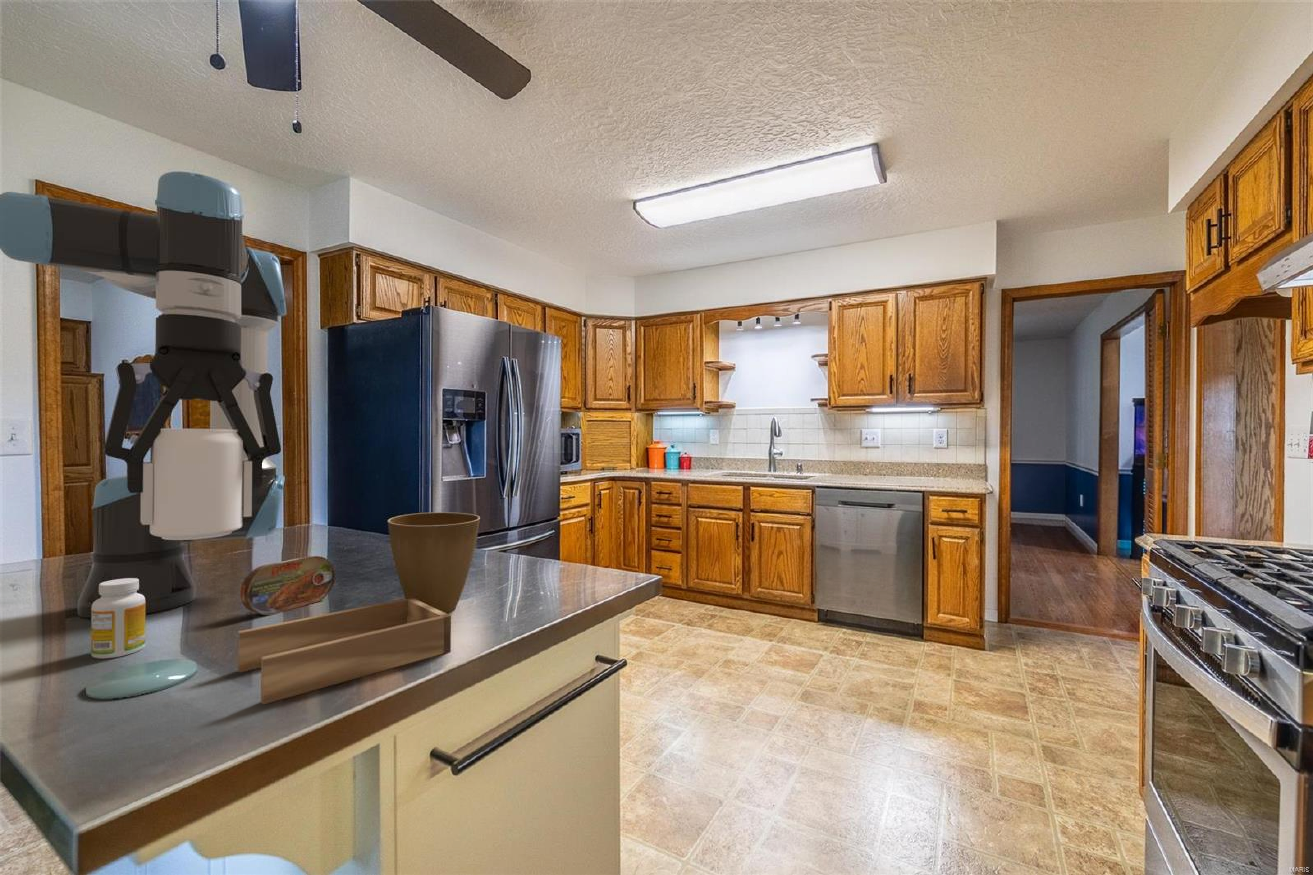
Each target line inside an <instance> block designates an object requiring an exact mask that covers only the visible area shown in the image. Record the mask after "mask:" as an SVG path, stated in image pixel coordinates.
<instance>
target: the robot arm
mask: <svg viewBox="0 0 1313 875" xmlns="http://www.w3.org/2000/svg"><path fill="white" fill-rule="evenodd" d="M242 200H243V199H242V196H241V194H240V192H239V191H238V190H237V189H236V188H235V187H233V186H232V185H230V184H229V183H226V182H225V181H223V180H220V179H218V178H215V177H211V176H209V175H204V174H200V173H195V172H189V171H169V172H165V173H164V174H162V175H161V176H159V178H158V182H157V193H156V199H155V200H154V205H155V206H156V214H151V213H146V212H145V213H144V212H138V211H132V210H127V209H126V210H125V209H124V210H123V209H117V208H112V207H107V206H102V205H96V204H95V205H94V204H91V203H89V204H88V203H83V202H80V201H79V202H77V201H72V200H66V199H61V198H55V197H49V196H46V195H45V194H32V193H31V194H30V193H24V192H18V191H17V192H15V191H4V192H2V193H0V251H2V253H3V254H4V255H5V256H6V257H7V258H9V259H11V260H14V261H20V262H26V263H30V264H31V263H32V264H38V265H40V266H43V267H45V266H50V267H58V268H59V267H60V268H68V269H69V268H70V269H72V270H77V271H80V272H85V273H89V274H91V275H95V276H99V277H102V278H105V279H106V280H107V281H108V282H109V283H111V284H112V285H113V286H116V287H118V288H119V289H122V290H124V291H128V292H132V293H134V294H138V295H141V296H144V297H147V298H151V299H153V300H155V308H156V310H158V311H159V312H160V313H161V314H160V315H158V317H155V343H154V344H155V350H154V356H153V358H151V360H150V361H149V362H143V363H142V362H141V363H129V362H120V363H119V364H118V365H117V366H116V368H115V371H116V375H117V381H118V384H119V385H118V386H119V387H118V391H117V396H116V397H115V398H116V399H115V403H114V407H113V411H112V414H111V417H110V418H111V419H110V423H109V427H108V431H107V434H106V437H105V438H106V439H105V443H104V445H103V446H104V447H103V453H104V454H105V455H106V456H108V457H110V458H115V459H118V460H122V461H124V462H125V463H126V475H121V476H114V477H108V478H104V479H102V480H100V481H99V482H98V483H96V485H95V488H94V496H93V497H94V498H93V505H92V506H91V509H92V510H93V514H92V516H93V517H92V518H93V520H92V521H93V523H92V528H93V529H92V532H93V534H92V535H93V537H92V538H93V539H92V545H93V546H92V557H93V558H92V560H93V561H92V568H91V569H90V570H91V571H90V572H89V575H88V578H87V579H86V582H85V583H84V586H83V589H82V590H81V593H80V595H79V597H78V600H77V612H76V614H77V615H78V617H80V618H85V619H91V609H92V604H93V603H94V601H96V600H97V599H100V598H101V595H99V584H100V583H102V582H106V581H110V580H116V579H125V578H137V579H139V589H138V590H137V591H136V592H137V593H138V594H142V595H143V596H144V597H145V615H148V614H151V613H159V612H163V611H167V610H170V609H174V608H178V607H181V606H184V605H187V604H189V603H191V602H193V601H194V600H196V584H195V581H194V579H193V577H192V574H191V572H190V569H189V568H188V564H187V562H186V560H185V557H184V543H190V542H191V543H193V542H202V541H206V542H207V541H218V540H228V539H229V540H230V539H231V540H232V539H243V540H248V539H251V538H257V537H266V536H270V535H271V534H273V533H274V532H275V531H276V529H277V526H278V522H279V516H280V509H281V502H282V497H283V491H284V490H283V489H284V484H285V480H286V479H285V476H284V475H282V474H279V473H278V474H277V465H276V464H275V463H274V462H272V461H271V460H270V459H269V458H270V457H272V456H274V455H278V454H280V453H281V451H282V447H281V442H280V437H279V433H278V427H277V426H278V425H277V423H276V422H277V421H276V418H275V417H276V416H275V412H274V407H273V406H274V405H273V403H272V401H273V400H272V396H271V390H272V384H273V381H274V377H273V375H272V374H271V373H269V372H268V371H269V370H268V364H269V362H268V360H269V359H268V356H269V355H268V354H269V351H268V350H269V342H268V340H269V339H268V338H269V332H270V331H271V330H273V329H274V328H276V327H277V326H278V320H279V319H278V317H284V316H286V315H287V312H288V311H287V306H286V299H285V292H284V291H285V290H284V284H283V277H282V272H281V271H282V270H281V264H280V261H279V259H278V257H277V256H276V255H275V254H273V253H271V252H270V251H269V252H268V251H264V250H258V249H254V248H251V247H250V246H249V247H248V246H246V245H245V241H244V236H243V220H244V214H243V201H242ZM150 373H151V374H153V375H152V376H154V377H155V378H156V379H157V381H158V382H160V384H161V385H162V386H163V387H164V388H165V391H164V392H163V394H162V396H161V397H160V399H159V401H158V403H157V405H156V406H155V408H154V410H153V411H152V412H151V414H150V416H149V417H148V418H147V421H146V423H145V424H144V425H143V427H142V429H141V431H140V432H139V434H138V436H137V437H136V439H135V441H134V442H133V444H132V445H131V447H130V448H127V447H123V445H124V442H125V441H124V440H125V437H126V431H127V429H128V428H127V427H128V424H129V421H130V417H131V412H132V410H133V409H132V408H133V406H134V405H133V404H134V400H135V397H136V393H137V385H138V384H141V383H144V381H145V379H146V375H147V374H150ZM197 399H198V400H202V401H206V402H209V405H210V406H209V410H210V411H209V413H210V414H209V415H210V416H209V418H210V419H209V420H210V421H209V429H234V430H238V432H237V433H238V435H239V436H240V437H241V439H242V441H243V494H242V527H241V528H239V529H237V530H235V531H232V533H231V534H228V535H224V536H219V537H213V538H204V539H193V540H166V539H162V537H159V536H154V535H152V534H151V533H150V524H153V463H150V461H144V459H145V457H146V455H147V454H148V452H149V451H150V450H151V446H152V444H153V442H154V441H155V439H156V437H157V436H158V434H159V432H160V431H161V429H163V428H164V425H165V424H166V422H167V420H168V419H169V417H170V415H171V413H173V410H174V409H175V407H176V406H177V404H179V401H181V400H182V401H192V400H197ZM268 457H269V458H268Z"/></svg>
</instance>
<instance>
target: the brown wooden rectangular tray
mask: <svg viewBox="0 0 1313 875" xmlns="http://www.w3.org/2000/svg"><path fill="white" fill-rule="evenodd" d="M451 640H452V615H450V614H448V613H444V612H442V611H440V610H438V609H435V608H433V607H431V606H429V605H427V604H425V603H423V602H420V601H418V600H416V599H414V598H412V597H409V598H405V597H404V598H401V599H400V598H399V599H395V600H394V599H393V600H389V601H386V602H379V603H375V604H369V605H365V606H359V607H354V608H349V609H344V610H339V611H335V612H330V613H326V614H325V613H324V614H319V615H314V616H309V617H304V618H300V619H294V620H289V621H284V622H280V623H273V624H269V625H263V626H258V627H254V628H249V629H248V628H247V629H244V630H238V631H237V672H238V671H239V672H238V674H240V673H245V672H249V671H253V670H252V669H254V670H257V669H256V668H258V669H260V703H261V704H262V705H266V704H269V703H274V702H277V701H280V700H284V699H288V698H292V697H295V696H299V695H302V694H306V693H309V692H312V691H315V690H319V689H323V688H326V687H330V686H334V685H337V684H341V683H343V682H348V681H351V680H356V679H358V678H361V677H362V678H363V677H365V676H368V675H372V674H376V673H379V672H384V671H387V670H390V669H394V668H397V667H401V666H404V665H405V666H406V665H408V664H412V663H415V662H419V661H421V660H422V661H423V660H426V659H429V658H432V657H436V656H439V655H440V656H441V655H442V654H447V653H450V652H452V649H451V648H452V645H451V644H452V641H451ZM248 670H249V671H248ZM244 671H245V672H244Z"/></svg>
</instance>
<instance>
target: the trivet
mask: <svg viewBox="0 0 1313 875" xmlns="http://www.w3.org/2000/svg"><path fill="white" fill-rule="evenodd" d="M197 672H198V664H197V662H195V661H194V660H192V659H191V660H190V659H185V658H183V659H181V658H180V659H179V658H176V659H174V658H173V659H172V658H171V659H162V660H155V661H148V662H143V663H137V664H134V665H130V666H126V667H123V668H119V669H116V670H112V671H109V672H107V673H104V674H102V675H100V676H99V677H96V678H95V679H92V680H90V682H89V683H87V685H86V686H85V695H86V696H87V697H88V698H90V699H94V700H114V699H113V698H119V699H124V698H123V697H127V698H129V697H128V696H134V697H139V696H142V695H141V694H144V695H146V694H145V693H148V694H151V693H150V692H152V693H154V692H153V691H156V692H159V691H163V690H165V689H169V688H170V687H171V688H172V687H174V686H177V685H179V684H181V683H180V682H182V683H183V682H186V681H187V680H190V679H191V678H193V677H194V676H195V675H196V673H197ZM178 683H179V684H178ZM138 695H139V696H138Z"/></svg>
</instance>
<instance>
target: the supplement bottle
mask: <svg viewBox="0 0 1313 875" xmlns="http://www.w3.org/2000/svg"><path fill="white" fill-rule="evenodd" d="M138 589H139V579H137V578H125V579H116V580H110V581H106V582H102V583H100V584H99V595H101V598H100V599H97V600H96V601H94V603H93V604H92V609H91V618H90V620H91V622H90V623H91V624H90V626H91V630H90V633H91V634H90V639H91V640H90V642H91V643H90V651H91V652H90V654H91V655H90V656H91V657H92V658H94V659H100V660H102V659H113V658H119V657H123V656H128V655H130V654H134V653H137V652H139V651H140V650H142V649H144V647H145V645H146V614H145V597H144V596H143V595H142V594H138V593H137V592H136V591H137V590H138Z"/></svg>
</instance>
